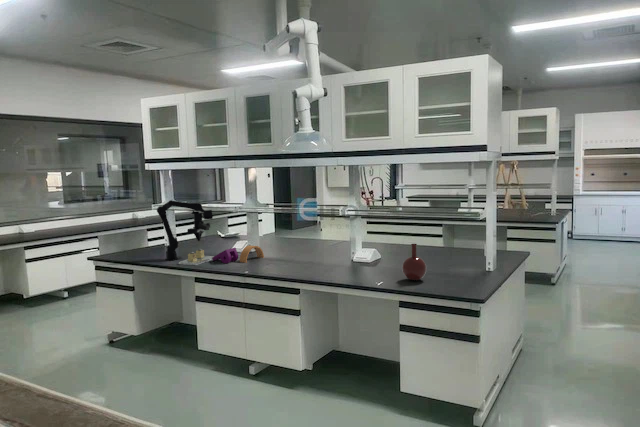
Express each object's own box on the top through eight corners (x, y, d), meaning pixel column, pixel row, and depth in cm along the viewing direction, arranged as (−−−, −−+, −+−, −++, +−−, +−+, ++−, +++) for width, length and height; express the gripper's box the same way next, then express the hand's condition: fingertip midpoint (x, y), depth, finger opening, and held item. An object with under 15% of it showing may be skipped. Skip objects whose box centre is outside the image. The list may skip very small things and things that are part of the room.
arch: (264, 257, 338) (263, 243, 337) (246, 263, 321) (245, 248, 320) (257, 257, 341) (257, 243, 340) (239, 262, 324) (238, 247, 323)
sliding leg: (196, 257, 333) (195, 249, 332) (199, 256, 337) (199, 248, 336) (201, 258, 332) (200, 249, 331) (204, 257, 335) (203, 248, 335)
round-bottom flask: (399, 282, 256) (399, 245, 254) (405, 276, 268) (404, 241, 266) (423, 283, 250) (423, 246, 248) (428, 278, 262) (428, 242, 260)
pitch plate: (178, 264, 323) (178, 261, 322) (199, 257, 345) (199, 255, 345) (196, 265, 318) (195, 262, 318) (215, 258, 340) (215, 255, 340)
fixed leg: (188, 261, 324) (187, 252, 324) (191, 260, 328) (191, 251, 328) (193, 261, 323) (192, 252, 322) (196, 260, 327) (196, 251, 326)
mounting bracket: (213, 270, 328) (230, 261, 319) (209, 259, 329) (225, 249, 320) (223, 267, 336) (239, 258, 327) (218, 256, 337) (235, 247, 328)
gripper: (199, 221, 333) (200, 243, 335) (214, 218, 351) (215, 239, 352) (186, 221, 338) (187, 242, 339) (202, 218, 355) (203, 239, 356)
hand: (198, 241), depth 347 cm, fingers closed
